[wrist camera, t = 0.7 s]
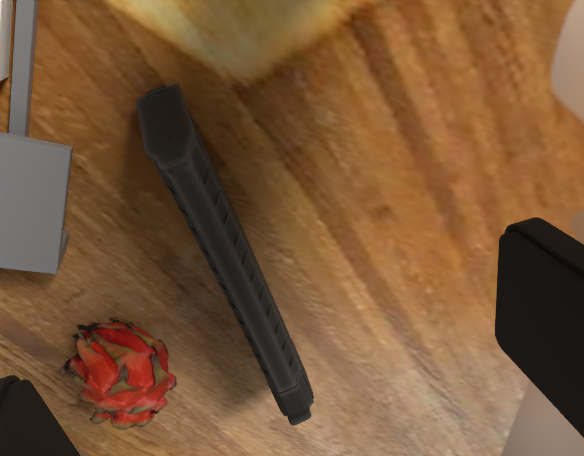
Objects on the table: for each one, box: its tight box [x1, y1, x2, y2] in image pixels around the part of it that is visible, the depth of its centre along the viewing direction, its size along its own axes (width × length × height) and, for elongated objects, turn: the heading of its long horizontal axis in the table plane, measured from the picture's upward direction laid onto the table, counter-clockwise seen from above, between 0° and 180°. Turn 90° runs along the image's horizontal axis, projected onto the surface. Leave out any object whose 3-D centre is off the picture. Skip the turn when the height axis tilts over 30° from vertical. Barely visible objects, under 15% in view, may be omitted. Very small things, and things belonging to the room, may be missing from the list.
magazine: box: [136, 84, 314, 426], centre depth 38 cm, size 18×3×31 cm
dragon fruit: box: [61, 317, 176, 430], centre depth 42 cm, size 8×8×12 cm
